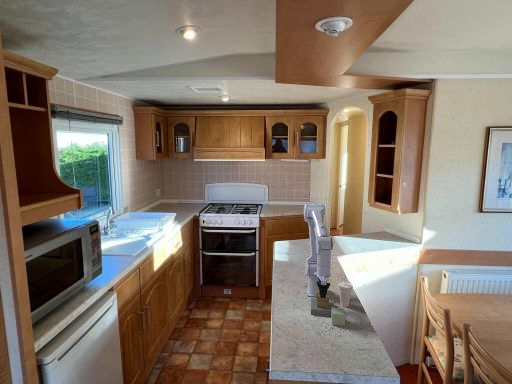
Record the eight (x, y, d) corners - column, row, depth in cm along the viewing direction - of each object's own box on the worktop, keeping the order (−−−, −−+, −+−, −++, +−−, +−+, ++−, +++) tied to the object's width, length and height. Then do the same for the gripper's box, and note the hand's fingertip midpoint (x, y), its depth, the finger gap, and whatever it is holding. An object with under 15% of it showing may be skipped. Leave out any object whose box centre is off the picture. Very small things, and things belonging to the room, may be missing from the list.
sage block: (331, 318, 132) (331, 307, 131) (343, 319, 131) (343, 308, 130) (331, 325, 127) (332, 313, 126) (344, 326, 126) (345, 314, 125)
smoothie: (340, 300, 147) (342, 271, 145) (354, 304, 143) (355, 275, 141) (334, 305, 142) (335, 276, 140) (348, 309, 138) (349, 279, 136)
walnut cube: (316, 301, 141) (316, 290, 140) (328, 302, 140) (328, 291, 139) (316, 306, 136) (317, 295, 135) (328, 307, 135) (328, 296, 135)
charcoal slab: (311, 304, 144) (311, 297, 144) (333, 306, 143) (333, 299, 142) (310, 315, 135) (310, 309, 134) (334, 318, 133) (334, 311, 132)
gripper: (314, 257, 143) (313, 285, 145) (314, 269, 129) (313, 300, 131) (330, 258, 142) (329, 286, 144) (331, 270, 128) (330, 302, 130)
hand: (322, 293), depth 138 cm, fingers open, 7 cm apart
